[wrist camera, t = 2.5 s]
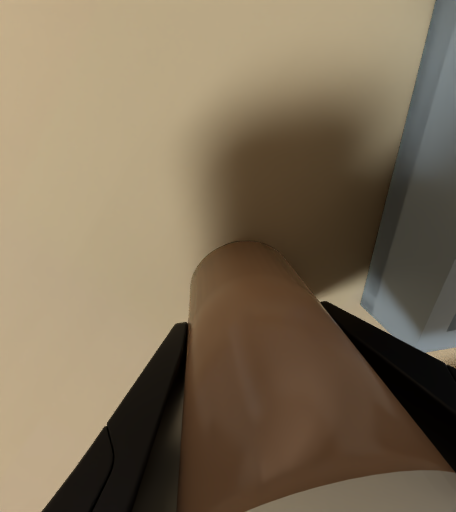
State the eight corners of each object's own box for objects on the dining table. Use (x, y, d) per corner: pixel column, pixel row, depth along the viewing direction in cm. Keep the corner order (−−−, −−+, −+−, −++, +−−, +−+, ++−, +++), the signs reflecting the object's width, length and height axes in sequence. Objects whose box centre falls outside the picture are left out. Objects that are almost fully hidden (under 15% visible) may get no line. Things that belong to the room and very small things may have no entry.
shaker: (291, 320, 11) (503, 713, 3) (196, 335, 11) (191, 808, 3) (297, 231, 9) (948, 772, 1) (178, 246, 8) (-19, 1168, 1)
